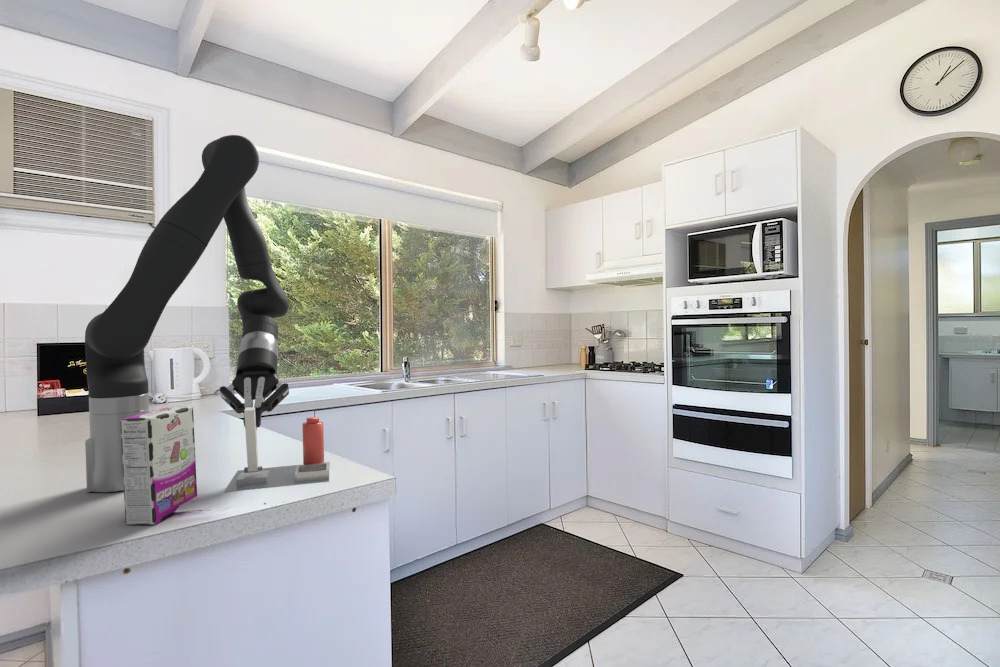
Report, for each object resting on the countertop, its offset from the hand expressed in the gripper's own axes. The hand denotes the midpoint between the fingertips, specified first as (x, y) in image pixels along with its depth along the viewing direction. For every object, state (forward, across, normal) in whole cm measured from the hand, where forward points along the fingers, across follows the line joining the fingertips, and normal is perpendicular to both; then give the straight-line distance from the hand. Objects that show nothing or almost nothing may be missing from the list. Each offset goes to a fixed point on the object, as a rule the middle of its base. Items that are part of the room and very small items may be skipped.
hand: (251, 428), depth 99 cm
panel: (+6, +5, +9) cm, 12 cm away
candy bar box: (+15, -12, 0) cm, 19 cm away
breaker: (+5, 0, +6) cm, 8 cm away
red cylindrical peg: (+3, +10, +11) cm, 16 cm away
